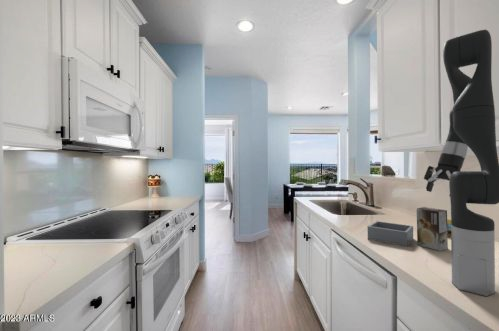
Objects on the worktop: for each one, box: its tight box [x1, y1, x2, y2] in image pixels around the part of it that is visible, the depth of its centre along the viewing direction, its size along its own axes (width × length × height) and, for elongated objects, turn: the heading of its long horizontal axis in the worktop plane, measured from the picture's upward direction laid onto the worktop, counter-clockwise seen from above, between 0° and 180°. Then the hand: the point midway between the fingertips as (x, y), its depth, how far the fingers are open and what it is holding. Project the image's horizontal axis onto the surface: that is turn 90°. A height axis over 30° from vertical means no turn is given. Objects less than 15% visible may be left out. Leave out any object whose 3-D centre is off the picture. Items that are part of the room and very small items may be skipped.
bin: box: [367, 220, 414, 247], centre depth 116 cm, size 14×16×6 cm
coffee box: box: [416, 206, 449, 252], centre depth 104 cm, size 9×6×16 cm
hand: (439, 194), depth 98 cm, fingers open, 8 cm apart
